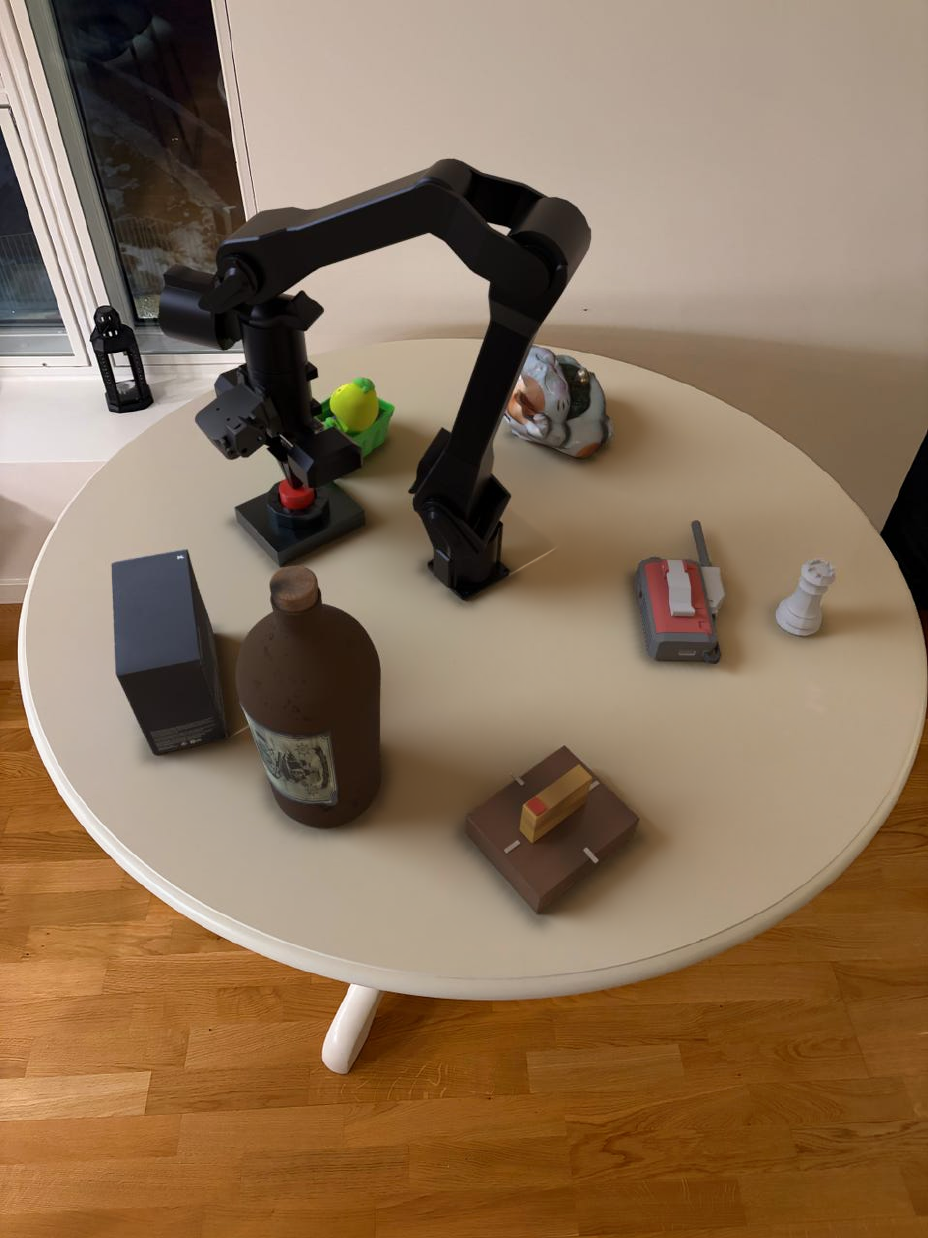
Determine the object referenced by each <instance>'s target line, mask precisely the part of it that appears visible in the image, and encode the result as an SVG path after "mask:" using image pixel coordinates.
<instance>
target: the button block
mask: <svg viewBox="0 0 928 1238" xmlns="http://www.w3.org/2000/svg"><path fill="white" fill-rule="evenodd" d="M283 480H284V479H281V480H279V481H277V482H275V483H274V484H273V485H272V486H271V487H270V489H269V490H268V491H267V492H264V493H262V494H260V495H258V496H256V497H253V498H251V499H249V500H247V501H244V502H242V503H240V504H238V505H236V506H234V508H233V509H234V513H235V517H236V522H237V523H238V524H239V526H240V527H241V528H242V529H243V530H244V531H245V532H246V533H247V534H248V535H249V537H251V538H252V540H253V541H255V543H256V544H257V545H258V546H259V547H260V548H261V549H262V550H263V551H264V552H265V554H267V556H268V557H269V558H270V559H271V560H272V561H273V563H275V565H276V566H278V567H279V568H283V567H284V566H286V565H288V564H290V563H292V562H294V561H296V560H298V559H300V558H301V557H304V556H306V555H307V554H310V553H312V552H314V551H315V550H317V549H320V548H322V547H324V546H326V545H328V544H330V543H332V542H334V541H336V540H338V539H340V538H343V537H344V536H345V535H347V534H350V533H351V532H354V531H355V530H358V529H360V528H362V527H363V526H366V512H365V509H364V508H363V507H362V506H361V505H360V504H359V503H358V502H356V500H355V499H354V498H352V497H351V496H350V495H349V494H348V493H347V492H346V491H345V490H344V489H342V487H340V486H339V484H337V483H336V481H335V480H334V481H332V482H330V483H328V484H326V485H323V486H321V487H319V488H317V489H316V488H314V496H315V499H314V502H313V503H312V504H311V505H310V506H307V507H305V508H303V509H289V508H286V507H285V506H284V505H283V504H282V502H281V498H280V492H279V485H280V483H281V482H282V481H283Z"/></svg>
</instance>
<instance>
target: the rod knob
mask: <svg viewBox="0 0 928 1238" xmlns="http://www.w3.org/2000/svg"><path fill="white" fill-rule="evenodd" d="M591 781H592V776H591V775H590V774H588V773H587V772H586V771H585V770H584V769H583V768H582V767H581V766H580V765H579V764H578V765H577V766H576V767H574V768H573V769H571V770H570V771H569V772H567V773H566V774H565V775H563V776H562V777H561V778H559V779H558V780H556V781H555V782H554V783H552V784H551V785H550V786H548V787H547V788H545V789H544V790H543V791H541V792H540V793H539V794H537V795H536V796H535V797H533V798H532V799H530V800H529V801H528V802H526V803H525V804H524V805H523V808H522V815H521V822H520V828H519V830H520V831H521V832H522V833H523V834H524V835H525V837H526V838H527V839H528V840H529V841H530V842H531V843H534V842H535V841H537V840H538V839H539V838H540V837H542V836H543V835H544V834H546V833H547V832H548V831H550V830H551V829H552V828H554V827H555V826H556V825H558V824H559V823H560V822H562V821H563V820H564V819H565V818H567V817H568V816H569V815H571V814H572V813H573V812H575V811H576V810H577V809H579V808H580V807H581V806H583V805H584V804H585V803H586V801H587V797H588V793H589V789H590V785H591Z"/></svg>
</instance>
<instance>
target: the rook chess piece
mask: <svg viewBox="0 0 928 1238" xmlns="http://www.w3.org/2000/svg"><path fill="white" fill-rule="evenodd" d="M830 564H831V561H830V560H828V559H827V558H825V560H824V561H822V557H815V558H814V559H813V558H811V559H809V560H808V562H806V563H804V564H803V565H802V566H801V569H800V574H801V576H800V577H799V579H798V586H797V587H796V589H795V590H794V592H793V593H791V594H790V595H789V596H787V597H785V598H784V599H783V600H782V601H781V602H780V603H779V605H778V608H776V610H775V619H776V622H777V624H778V625H779V627H780V628H781V629H782V630H783V631H785V632H787V634H790V635H794V636H797V637H801V636H802V637H806V636H809V635H813V634H816V632H817V631H818V630H819V629H820V626H821V623H822V620H823V611H822V606H821V602H822V599H823V596H824V594H826V593H827V592H828V590H829V586H830V585H832V584H834V583H835V582H836V579H837V578H836V577H837V576H836V573H835V570H836V567H835V565H834V564H832V565H830Z"/></svg>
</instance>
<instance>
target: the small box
mask: <svg viewBox="0 0 928 1238" xmlns="http://www.w3.org/2000/svg"><path fill="white" fill-rule="evenodd" d="M110 565H111V590H112V591H111V593H112V612H113V615H112V616H113V643H114V667H115V676H116V679H117V680H118V683H119V684H120V687H121V688H122V691H123V693H124V695H125V698H126V700H127V702H128V704H129V706H130V708H131V710H132V712H133V715H134V717H135V718H136V721H137V723H138V725H139V727H140V729H141V732H142V733H143V735H144V738H145V740H146V742H147V745H148V746H149V749H150V751H151V753H152V755H154V756H155V755H159V754H165V753H169V752H170V753H171V752H174V751H178V750H184V749H187V748H190V747H197V746H200V745H204V744H208V743H213V742H217V741H221V740H225V739H228V738H229V732H228V726H227V718H226V711H225V703H224V697H223V691H222V681H221V675H220V668H219V662H218V655H217V646H216V640H215V633H214V630H213V625H212V623H211V620H210V616H209V614H208V611H207V608H206V605H205V603H204V599H203V596H202V594H201V593H202V592H201V590H200V587H199V584H198V581H197V577H196V574H195V571H194V567H193V563H192V559H191V556H190V553H189V549H188V548H183V549H179V550H178V549H177V550H171V551H167V552H162V553H155V554H151V555H145V556H137V557H133V558H128V559H122V560H117V561H114V562H111V564H110Z"/></svg>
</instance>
